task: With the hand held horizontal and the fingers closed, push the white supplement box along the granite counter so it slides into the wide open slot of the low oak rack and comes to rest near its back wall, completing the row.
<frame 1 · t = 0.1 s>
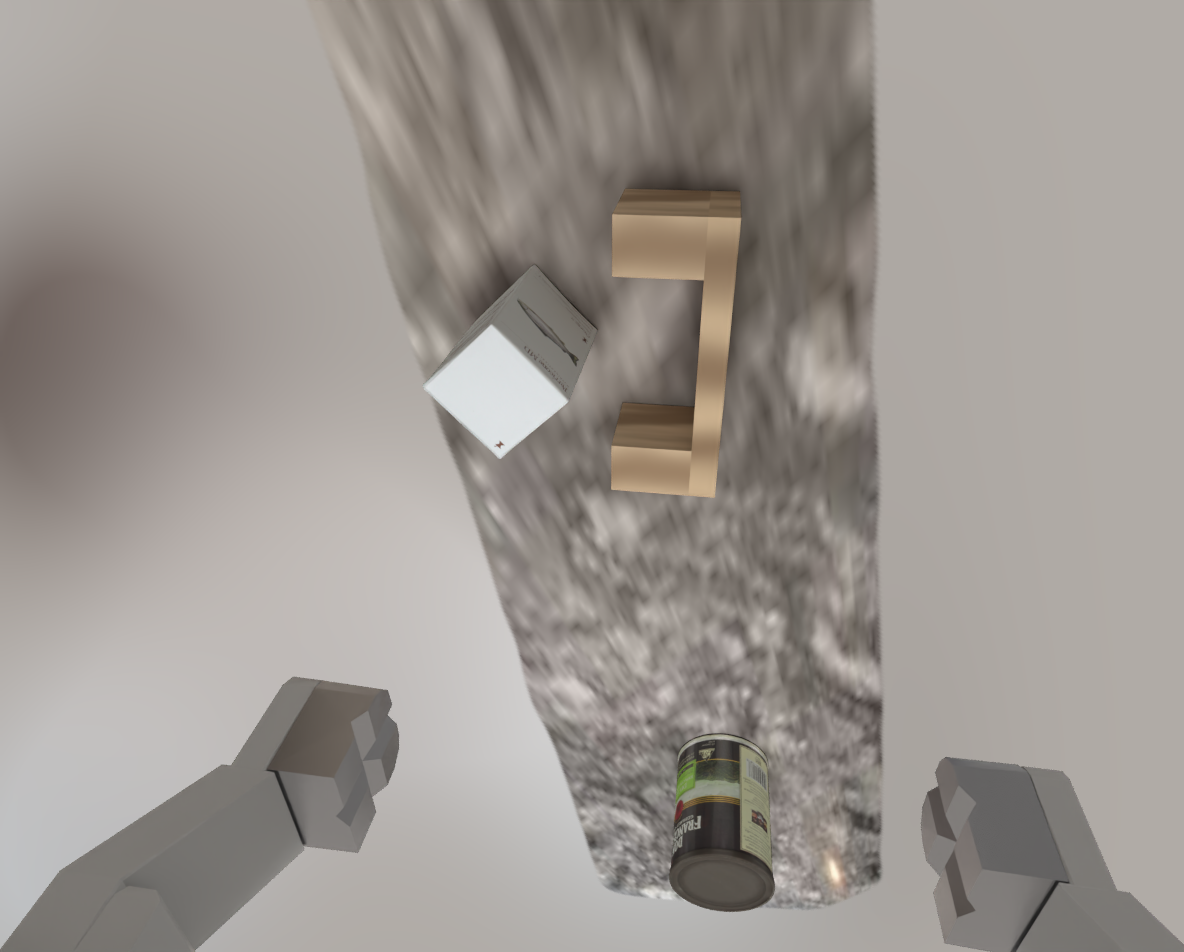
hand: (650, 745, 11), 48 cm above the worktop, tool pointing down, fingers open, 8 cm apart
supplement box: (536, 323, 60), on the worktop
coffee can: (722, 761, 86), on the worktop
oak rack: (700, 332, 58), on the worktop
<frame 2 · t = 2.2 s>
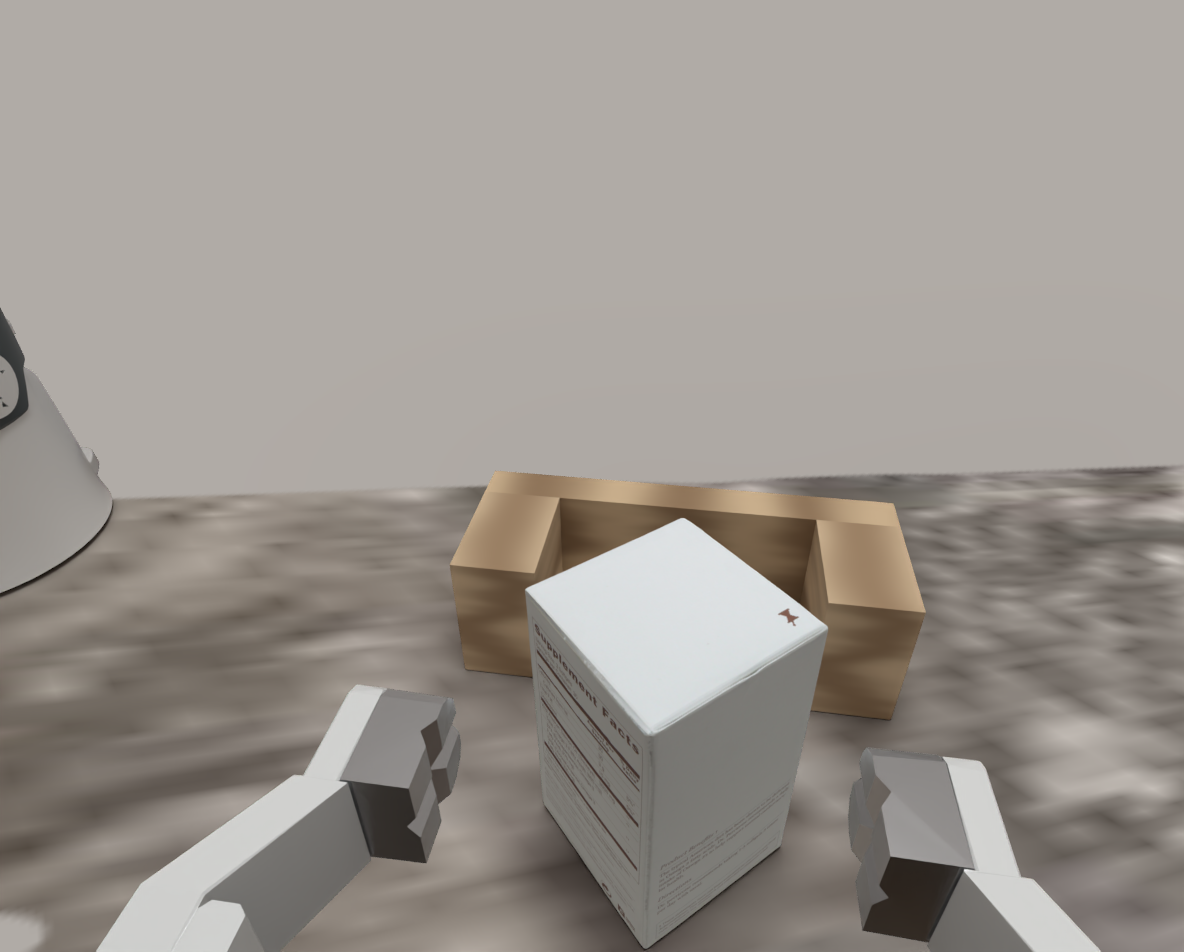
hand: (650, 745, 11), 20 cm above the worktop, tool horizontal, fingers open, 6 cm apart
supplement box: (657, 828, 32), on the worktop
oak rack: (677, 609, 42), on the worktop
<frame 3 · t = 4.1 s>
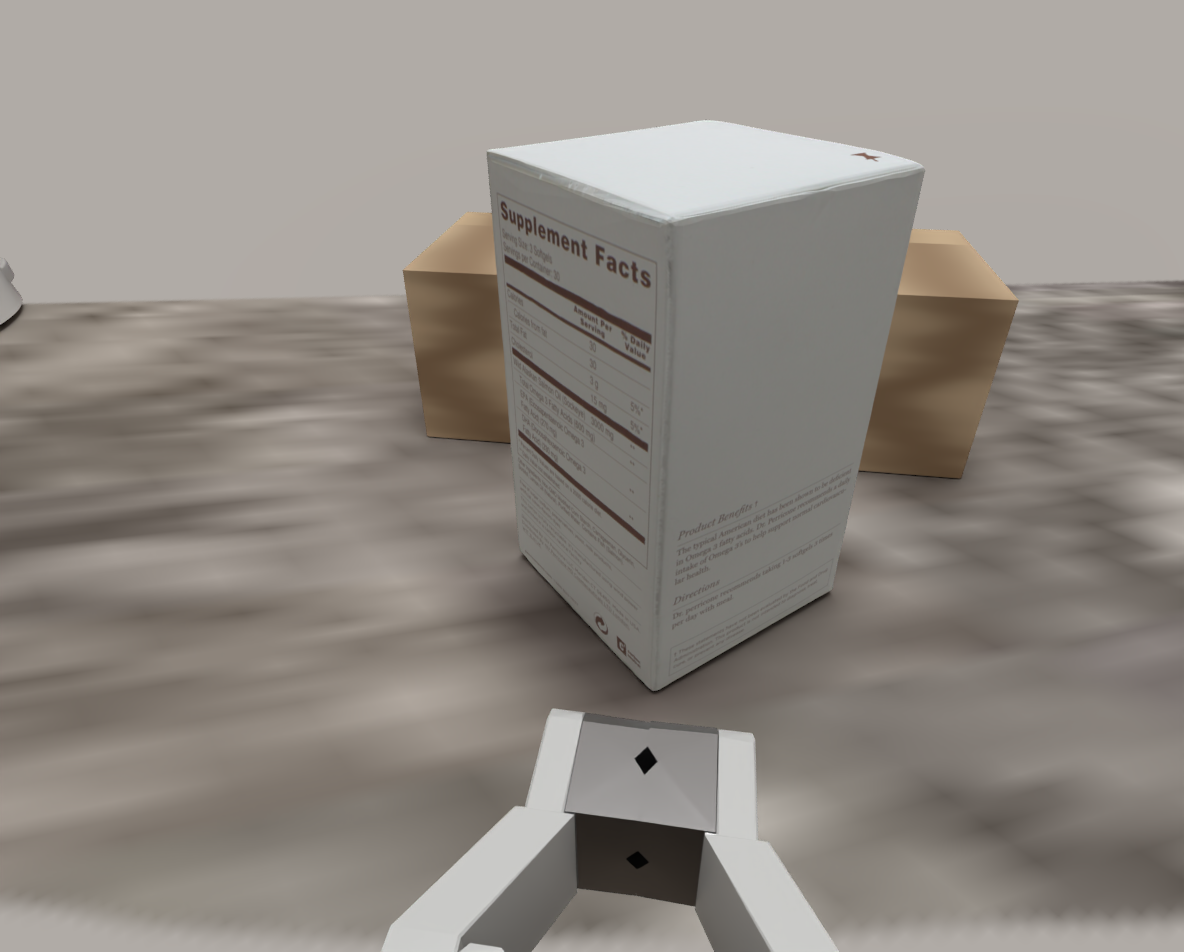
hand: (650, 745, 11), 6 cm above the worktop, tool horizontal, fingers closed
supplement box: (668, 578, 24), on the worktop
oak rack: (689, 387, 35), on the worktop
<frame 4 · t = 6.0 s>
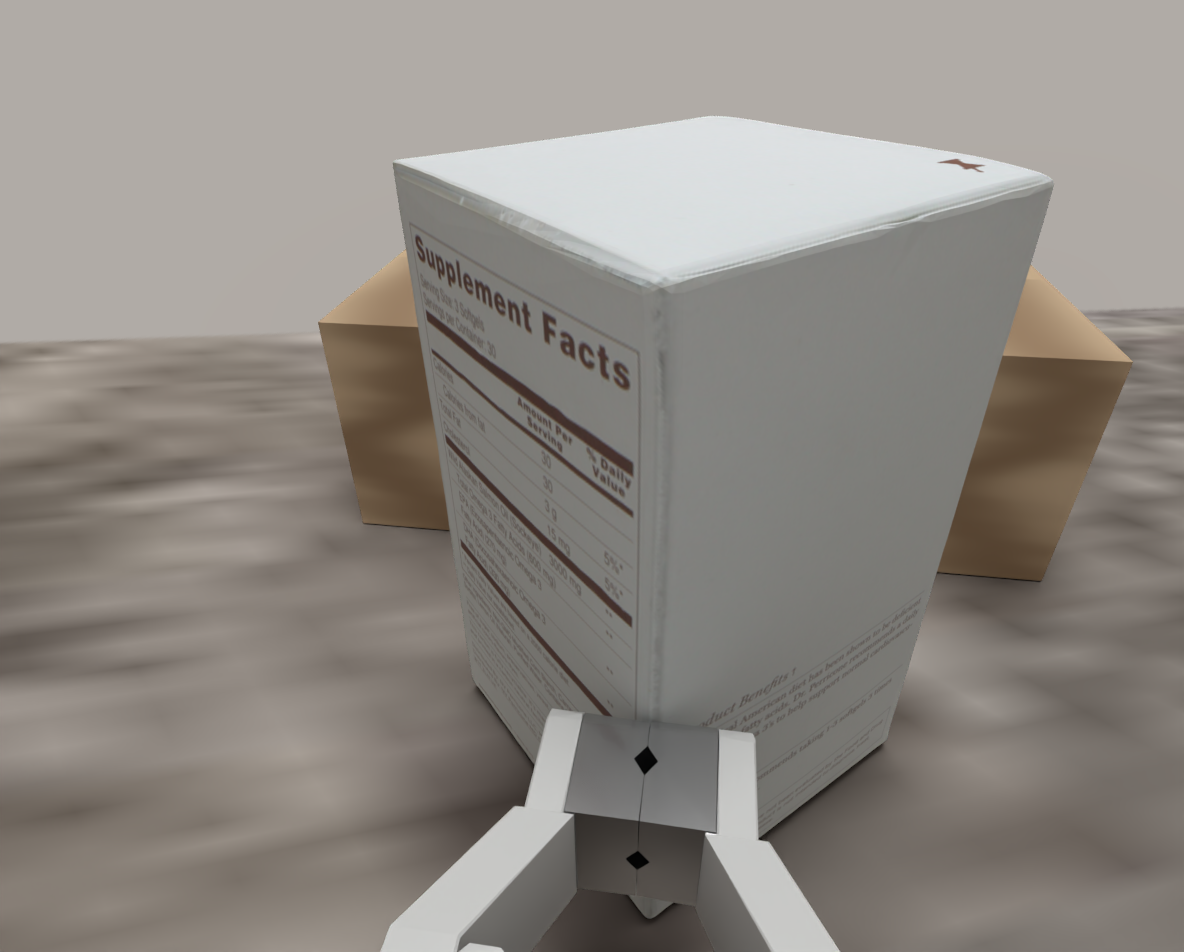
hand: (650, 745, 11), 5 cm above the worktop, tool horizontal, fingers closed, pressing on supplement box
supplement box: (668, 718, 18), on the worktop, touching gripper
oak rack: (690, 450, 28), on the worktop
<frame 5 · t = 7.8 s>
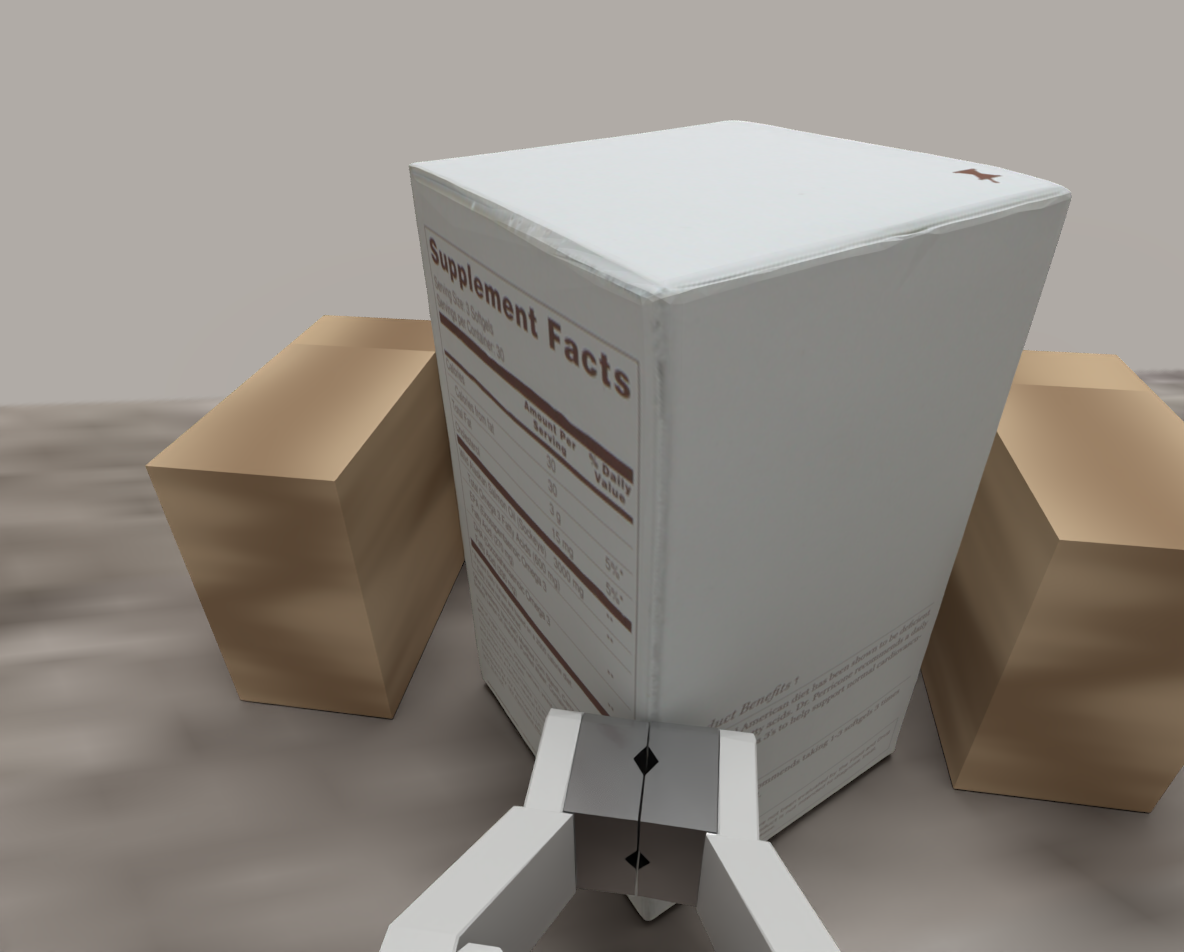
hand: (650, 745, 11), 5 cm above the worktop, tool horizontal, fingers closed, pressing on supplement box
supplement box: (674, 722, 18), on the worktop, touching gripper, oak rack
oak rack: (675, 580, 22), on the worktop
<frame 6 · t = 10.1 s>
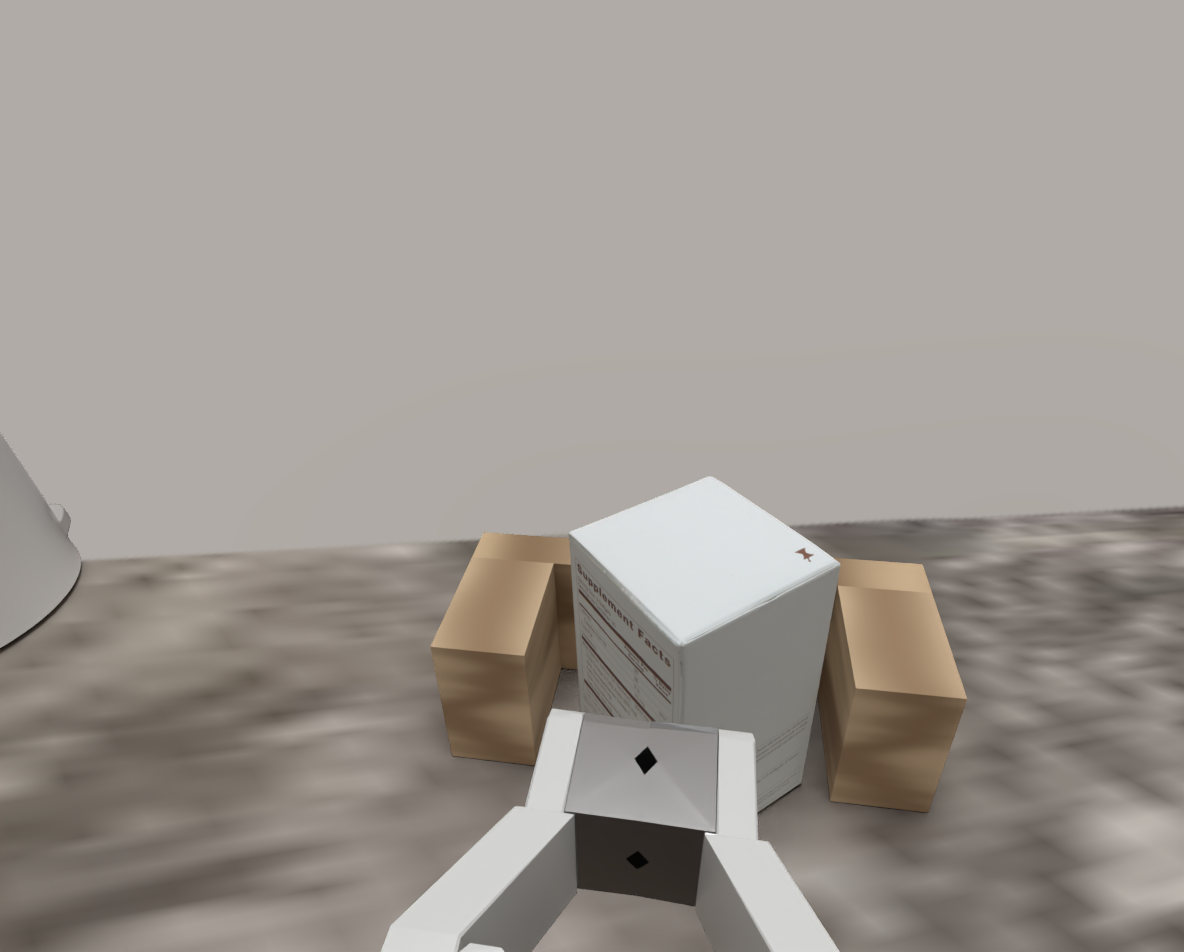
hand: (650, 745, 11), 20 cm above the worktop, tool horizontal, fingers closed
supplement box: (687, 767, 34), on the worktop
oak rack: (686, 680, 38), on the worktop
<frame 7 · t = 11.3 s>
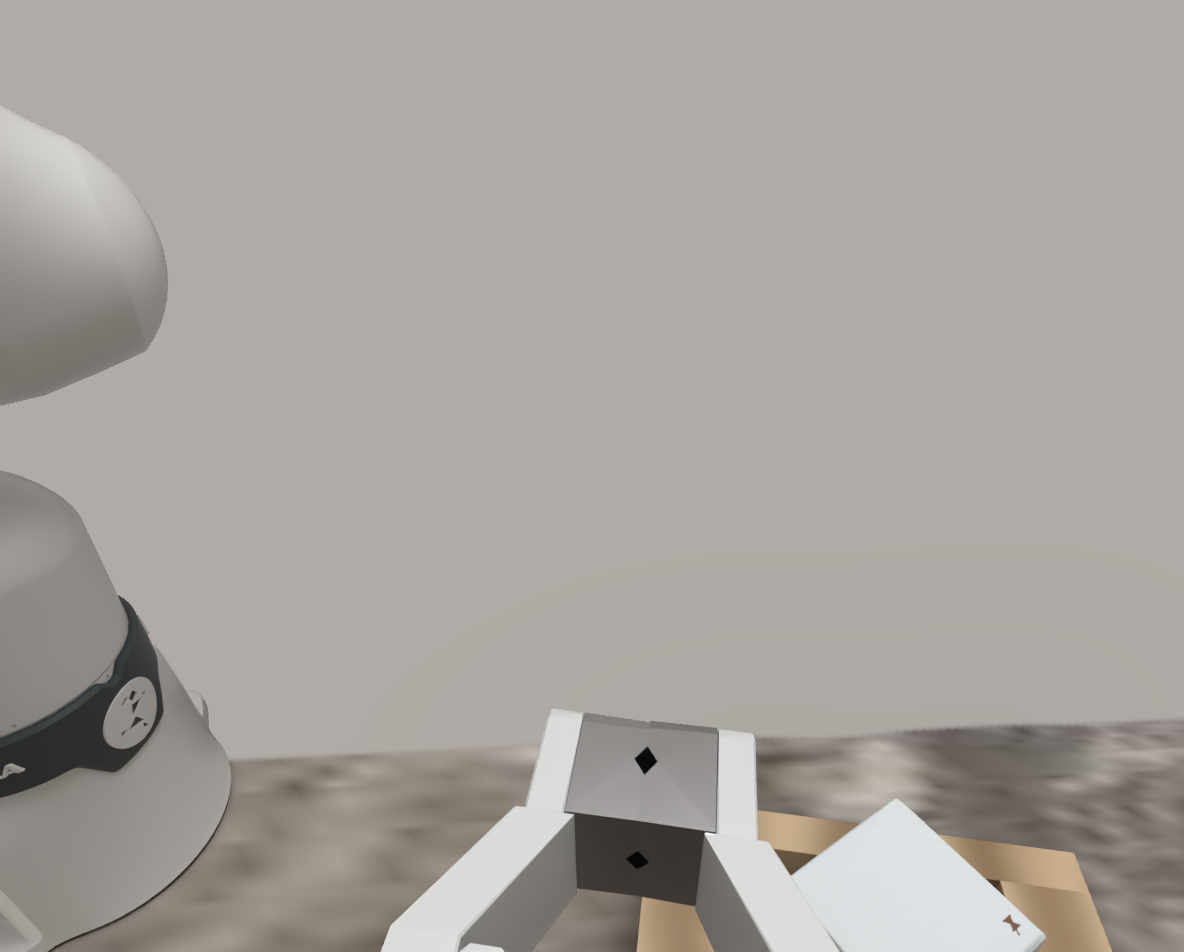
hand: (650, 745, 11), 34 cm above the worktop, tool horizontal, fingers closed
oak rack: (836, 931, 41), on the worktop
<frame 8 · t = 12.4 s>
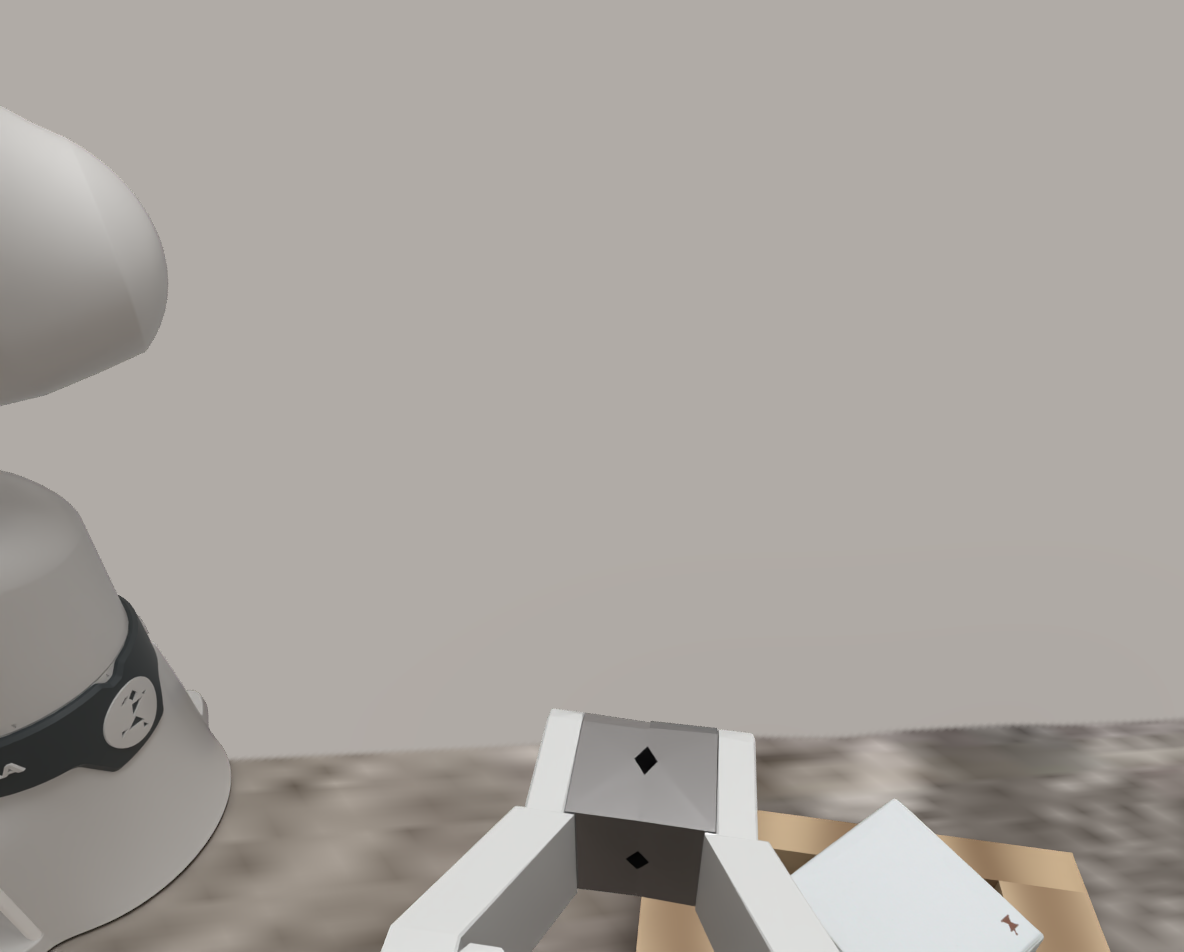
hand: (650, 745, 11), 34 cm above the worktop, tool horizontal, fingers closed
oak rack: (835, 931, 41), on the worktop
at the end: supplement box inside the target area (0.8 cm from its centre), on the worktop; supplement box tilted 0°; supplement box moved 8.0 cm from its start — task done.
